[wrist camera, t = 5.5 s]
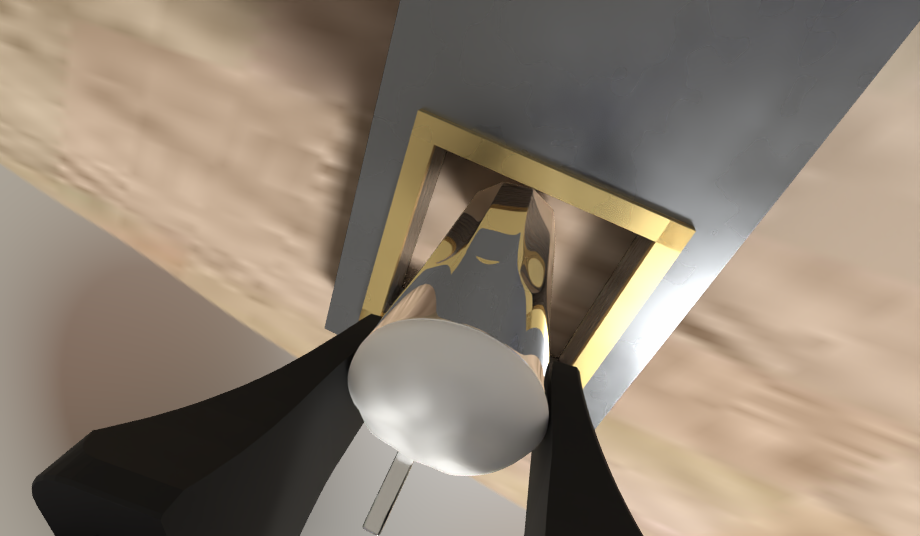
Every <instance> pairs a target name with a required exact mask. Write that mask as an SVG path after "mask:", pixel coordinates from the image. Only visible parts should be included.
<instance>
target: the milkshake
mask: <svg viewBox="0 0 920 536" xmlns="http://www.w3.org/2000/svg"><path fill="white" fill-rule="evenodd" d="M555 241H556V234H555V223H554V211H553V209H552V208H551V207H550V206H549V205H548V204H547V202H546V201H545V200H544V199H543V198H542V197H541V196H540V195H539V194H538V193H537V192H536V191H535V190H534V189H533V188H529V187H525V186H521V185H516V184H512V183H508V182H502V183H499V184H496V185H494V186H491V187H489V188H486V189H483V190H481V191H478V192H477V193H476V194H475V196H474V197H473V198H472V200H471V201H470V203H469V204H468V205H467V207H466V208H465V210H464V211H463V212H462V214H461V215H460V217H459V218H458V219H457V221H456V222H455V223H454V225H453V226H452V228H451V229H450V230H449V232H448V233H447V235H446V236H445V237H444V239H443V240H442V241H441V243H440V244H439V246H438V247H437V248H436V250H435V251H434V253H433V254H432V255H431V257H430V258H429V259H428V261H427V262H426V263H425V265H424V266H423V267H422V268H421V270H420V271H419V272H418V274H417V275H416V276H415V277H414V278H413V280H412V281H411V282H410V283H409V285H408V286H407V287H406V288H405V290H404V291H403V292H402V293H401V295H400V296H399V297H398V298H397V300H396V301H395V302H394V303H393V305H392V306H391V307H390V308H389V310H388V311H387V312H386V313H385V315H384V316H383V317H382V319H381V320H380V321H379V322H378V324H377V325H376V326H375V327H374V329H373V330H372V331H371V332H370V334H369V335H368V336H367V338H366V339H365V340H364V341H363V342H362V343H361V345H360V346H359V348H358V350H357V351H356V353H355V355H354V357H353V359H352V362H351V365H350V368H349V372H348V388H349V392H350V395H351V398H352V400H353V403H354V404H355V405H356V407H357V408H358V409H359V411H360V414H361V416H362V418H363V420H364V422H365V424H366V426H367V428H368V429H369V431H370V432H371V433H372V434H373V435H374V436H376V437H377V438H378V439H380V440H381V441H383V442H384V443H386V444H389V445H390V446H392V447H393V448H395V449H396V450H397V451H398V452H397V455H396V457H395V459H394V461H393V463H392V465H391V467H390V469H389V471H388V473H387V475H386V478H385V480H384V482H383V484H382V486H381V488H380V490H379V492H378V494H377V496H376V498H375V500H374V503H373V505H372V507H371V509H370V511H369V513H368V515H367V517H366V520H365V522H364V524H363V529H365V530H366V531H368V532H370V533H372V534H374V535H377V536H379V535H380V533H381V532H382V530H383V527H384V526H385V523H386V521H387V519H388V517H389V515H390V512H391V510H392V508H393V506H394V504H395V501H396V499H397V497H398V495H399V493H400V491H401V488H402V486H403V484H404V482H405V480H406V478H407V475H408V473H409V471H410V469H411V467H412V464H413V462H414V461H415V462H418V463H421V464H423V465H426V466H429V467H432V468H434V469H436V470H439V471H441V472H443V473H446V474H450V475H456V476H474V475H484V474H489V473H493V472H496V471H499V470H501V469H503V468H506V467H508V466H510V465H512V464H514V463H515V462H517V461H518V460H520V459H521V458H523V457H524V456H526V455H527V454H529V453H530V452H531V451H533V450H534V449H535V448H536V447H537V446H538V445H539V444H540V443H541V441H542V440H543V438H544V436H545V433H546V431H547V427H548V421H549V409H548V400H549V357H550V313H551V299H552V284H553V270H554V256H555Z"/></svg>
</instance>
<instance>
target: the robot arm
mask: <svg viewBox="0 0 920 536" xmlns="http://www.w3.org/2000/svg"><path fill="white" fill-rule="evenodd" d="M381 319H382V316H378V315H375V314H370V315H368V316H366V317H365V318H363V319H361V320H360V321H358V322H357V323H355V324H354V325H352V326H350V327H349V328H347V329H346V330H344V331H343V332H341V333H340V334H338V335H336V336H335V337H333V338H332V339H330V340H328V341H327V342H325V343H324V344H322V345H320V346H319V347H317V348H315V349H314V350H312V351H310V352H309V353H307V354H305V355H303V356H302V357H300V358H298V359H296V360H295V361H293V362H291V363H289V364H287V365H285V366H284V367H282V368H280V369H278V370H276V371H274V372H272V373H270V374H268V375H266V376H263V377H261V378H259V379H257V380H254V381H253V382H250V383H248V384H246V385H244V386H241V387H239V388H236V389H233V390H231V391H228V392H225V393H223V394H220V395H217V396H215V397H213V398H209V399H207V400H204V401H201V402H198V403H196V404H193V405H189V406H186V407H183V408H180V409H177V410H173V411H170V412H166V413H163V414H160V415H156V416H152V417H149V418H145V419H141V420H137V421H132V422H128V423H124V424H120V425H116V426H111V427H107V428H103V429H98V430H93V431H92V432H91V433H89V434H88V435H87V436H85V437H84V438H83V439H82V440H81V441H79V442H78V443H77V444H76V445H75V446H73V448H71V449H70V450H69V451H67V452H66V453H65V454H64V455H62V456H61V457H60V458H59V459H58V460H56V461H55V462H54V463H53V464H51V465H50V466H49V467H48V468H47V469H45V470H44V471H43V472H42V473H41V474H39V475H38V476H37V477H36V478H35V480H34V481H33V483H32V496H33V498H34V500H35V502H36V505H37V506H38V508H39V510H40V511H41V513H42V515H43V516H44V518H45V520H46V521H47V523H48V525H49V526H50V528H51V530H52V531H53V533H54V535H55V536H300V534H301V532H302V529H303V527H304V525H305V523H306V521H307V519H308V517H309V515H310V513H311V511H312V509H313V507H314V505H315V503H316V501H317V499H318V497H319V495H320V493H321V491H322V490H323V487H324V486H325V484H326V482H327V480H328V479H329V477H330V475H331V473H332V472H333V470H334V468H335V467H336V465H337V463H338V462H339V461H340V459H341V457H342V456H343V454H344V453H345V451H346V450H347V448H348V446H349V445H350V443H351V442H352V440H353V439H354V437H355V435H356V434H357V432H358V431H359V429H360V428H361V426H362V424H363V423H364V420H363V418H362V416H361V414H360V411H359V409H358V408H357V407H356V405H355V404H354V403H353V400H352V398H351V395H350V392H349V388H348V372H349V368H350V365H351V362H352V359H353V357H354V355H355V353H356V351H357V350H358V348H359V346H360V345H361V343H362V342H363V341H364V340H365V339H366V338H367V336H368V335H369V334H370V332H371V331H372V330H373V329H374V327H375V326H376V325H377V324H378V322H379V321H380V320H381ZM548 409H549V421H548V427H547V431H546V433H545V436H544V438H543V440H542V441H541V443H540V444H539V445H538V446H537V447H536V448H535V449H534V450H533V451H532V454H531V465H530V476H529V488H528V499H527V510H526V522H525V534H524V536H643V534H642V533H641V531H640V529H639V528H638V526H637V524H636V522H635V520H634V518H633V516H632V515H631V513H630V511H629V509H628V507H627V505H626V503H625V501H624V499H623V497H622V495H621V493H620V491H619V489H618V487H617V485H616V483H615V480H614V478H613V476H612V474H611V471H610V469H609V467H608V464H607V462H606V459H605V457H604V454H603V452H602V449H601V447H600V444H599V441H598V439H597V436H596V433H595V430H594V427H593V424H592V421H591V418H590V414H589V411H588V408H587V404H586V400H585V396H584V392H583V388H582V382H581V377H580V371H579V369H578V368H577V367H575V366H571V365H567V364H564V363H560V362H556V361H553V364H552V368H551V371H550V375H549V400H548Z"/></svg>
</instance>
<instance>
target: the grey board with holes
mask: <svg viewBox="0 0 920 536" xmlns="http://www.w3.org/2000/svg"><path fill="white" fill-rule="evenodd" d="M919 21H920V0H400V4H399V8H398V12H397V17H396V21H395V25H394V30H393V34H392V38H391V43H390V47H389V51H388V56H387V60H386V64H385V69H384V73H383V77H382V82H381V86H380V90H379V95H378V99H377V103H376V108H375V112H374V116H373V121H372V125H371V129H370V134H369V138H368V142H367V147H366V151H365V155H364V160H363V164H362V168H361V173H360V177H359V181H358V186H357V190H356V194H355V199H354V203H353V207H352V212H351V216H350V220H349V225H348V229H347V233H346V238H345V242H344V246H343V251H342V255H341V259H340V264H339V268H338V272H337V277H336V281H335V285H334V290H333V294H332V298H331V303H330V307H329V311H328V316H327V320H326V324H325V329H327V330H329V331H331V332H333V333H335V334H340V333H341V332H343V331H344V330H346V329H347V328H349V327H350V326H352V325H354V324H355V323H357V322H358V321H360V320H361V319H363V318H365V317H366V316H368V315H370V314H375V315H378V316H382V317H383V316H384V315H385V313H386V312H387V311H388V310H389V308H390V307H391V306H392V305H393V303H394V302H395V301H396V300H397V298H398V297H399V296H400V295H401V293H402V292H403V291H404V290H405V289H404V288H402V284H403V281H404V278H405V275H406V272H407V269H408V266H409V263H410V260H411V257H412V254H413V251H414V248H415V245H416V242H417V239H418V236H419V233H420V230H421V227H422V224H423V221H424V218H425V215H426V212H427V209H428V206H429V203H430V200H431V197H432V194H433V191H434V188H435V185H436V182H437V179H438V176H439V173H440V170H441V167H442V164H443V161H444V158H445V155H446V152H447V150H448V151H450V152H452V153H454V154H457V155H459V156H461V157H463V158H466V159H468V160H470V161H473V162H475V163H477V164H479V165H482V166H484V167H486V168H489V169H491V170H493V171H495V172H498V173H500V174H502V175H504V176H507V177H509V178H511V179H514V180H516V181H518V182H520V183H523V184H525V185H527V186H530V187H532V188H534V189H536V190H539V191H541V192H543V193H545V194H548V195H550V196H552V197H555V198H557V199H559V200H561V201H564V202H566V203H568V204H570V205H573V206H575V207H577V208H580V209H582V210H584V211H586V212H589V213H591V214H593V215H596V216H598V217H600V218H602V219H605V220H607V221H609V222H611V223H614V224H616V225H618V226H621V227H623V228H625V229H627V230H630V231H632V232H634V233H637V234H638V235H637V236H636V238H635V239H634V241H633V242H632V244H631V246H630V247H629V249H628V250H627V252H626V253H625V255H624V256H623V258H622V260H621V261H620V263H619V264H618V266H617V267H616V269H615V271H614V272H613V274H612V275H611V277H610V278H609V280H608V282H607V283H606V285H605V286H604V288H603V289H602V291H601V293H600V294H599V296H598V297H597V299H596V300H595V302H594V303H593V305H592V307H591V308H590V310H589V311H588V313H587V314H586V316H585V318H584V319H583V321H582V322H581V324H580V325H579V327H578V329H577V330H576V332H575V333H574V335H573V336H572V338H571V340H570V341H569V343H568V344H567V346H566V347H565V349H564V350H563V352H562V354H561V355H560V357H559V358H558V359H556V358H553V357H551V356H550V357H549V375H550V371H551V368H552V364H553V361H556V362H560V363H564V364H567V365H571V366H575V367H577V368H578V369H579V371H580V377H581V382H582V388H583V392H584V396H585V400H586V404H587V408H588V411H589V414H590V418H591V421H592V424H593V427H594V430H595V428H596V427H597V426H598V425H599V423H600V422H601V421H602V420H603V418H604V417H605V416H606V415H607V413H608V412H609V411H610V410H611V408H612V407H613V406H614V405H615V403H616V402H617V401H618V400H619V398H620V397H621V396H622V395H623V393H624V392H625V391H626V389H627V388H628V387H629V386H630V384H631V383H632V382H633V381H634V379H635V378H636V377H637V376H638V374H639V373H640V372H641V371H642V369H643V368H644V367H645V366H646V364H647V363H648V362H649V361H650V359H651V358H652V357H653V356H654V354H655V353H656V352H657V351H658V349H659V348H660V347H661V345H662V344H663V343H664V342H665V340H666V339H667V338H668V337H669V335H670V334H671V333H672V332H673V330H674V329H675V328H676V327H677V325H678V324H679V323H680V322H681V320H682V319H683V318H684V317H685V315H686V314H687V313H688V312H689V310H690V309H691V308H692V307H693V305H694V304H695V303H696V301H697V300H698V299H699V298H700V296H701V295H702V294H703V293H704V291H705V290H706V289H707V288H708V286H709V285H710V284H711V283H712V281H713V280H714V279H715V278H716V276H717V275H718V274H719V273H720V271H721V270H722V269H723V268H724V266H725V265H726V264H727V263H728V261H729V260H730V259H731V257H732V256H733V255H734V254H735V252H736V251H737V250H738V249H739V247H740V246H741V245H742V244H743V242H744V241H745V240H746V239H747V237H748V236H749V235H750V234H751V232H752V231H753V230H754V229H755V227H756V226H757V225H758V224H759V222H760V221H761V220H762V219H763V217H764V216H765V215H766V213H767V212H768V211H769V210H770V208H771V207H772V206H773V205H774V203H775V202H776V201H777V200H778V198H779V197H780V196H781V195H782V193H783V192H784V191H785V190H786V188H787V187H788V186H789V185H790V183H791V182H792V181H793V180H794V178H795V177H796V176H797V175H798V173H799V172H800V171H801V169H802V168H803V167H804V166H805V164H806V163H807V162H808V161H809V159H810V158H811V157H812V156H813V154H814V153H815V152H816V151H817V149H818V148H819V147H820V146H821V144H822V143H823V142H824V141H825V139H826V138H827V137H828V136H829V134H830V133H831V132H832V131H833V129H834V128H835V127H836V125H837V124H838V123H839V122H840V120H841V119H842V118H843V117H844V115H845V114H846V113H847V112H848V110H849V109H850V108H851V107H852V105H853V104H854V103H855V102H856V100H857V99H858V98H859V97H860V95H861V94H862V93H863V92H864V90H865V89H866V88H867V87H868V85H869V84H870V83H871V81H872V80H873V79H874V78H875V76H876V75H877V74H878V73H879V71H880V70H881V69H882V68H883V66H884V65H885V64H886V63H887V61H888V60H889V59H890V58H891V56H892V55H893V54H894V53H895V51H896V50H897V49H898V48H899V46H900V45H901V44H902V42H903V41H904V40H905V39H906V37H907V36H908V35H909V34H910V32H911V31H912V30H913V29H914V27H915V26H916V25H917V24H918V22H919Z"/></svg>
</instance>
